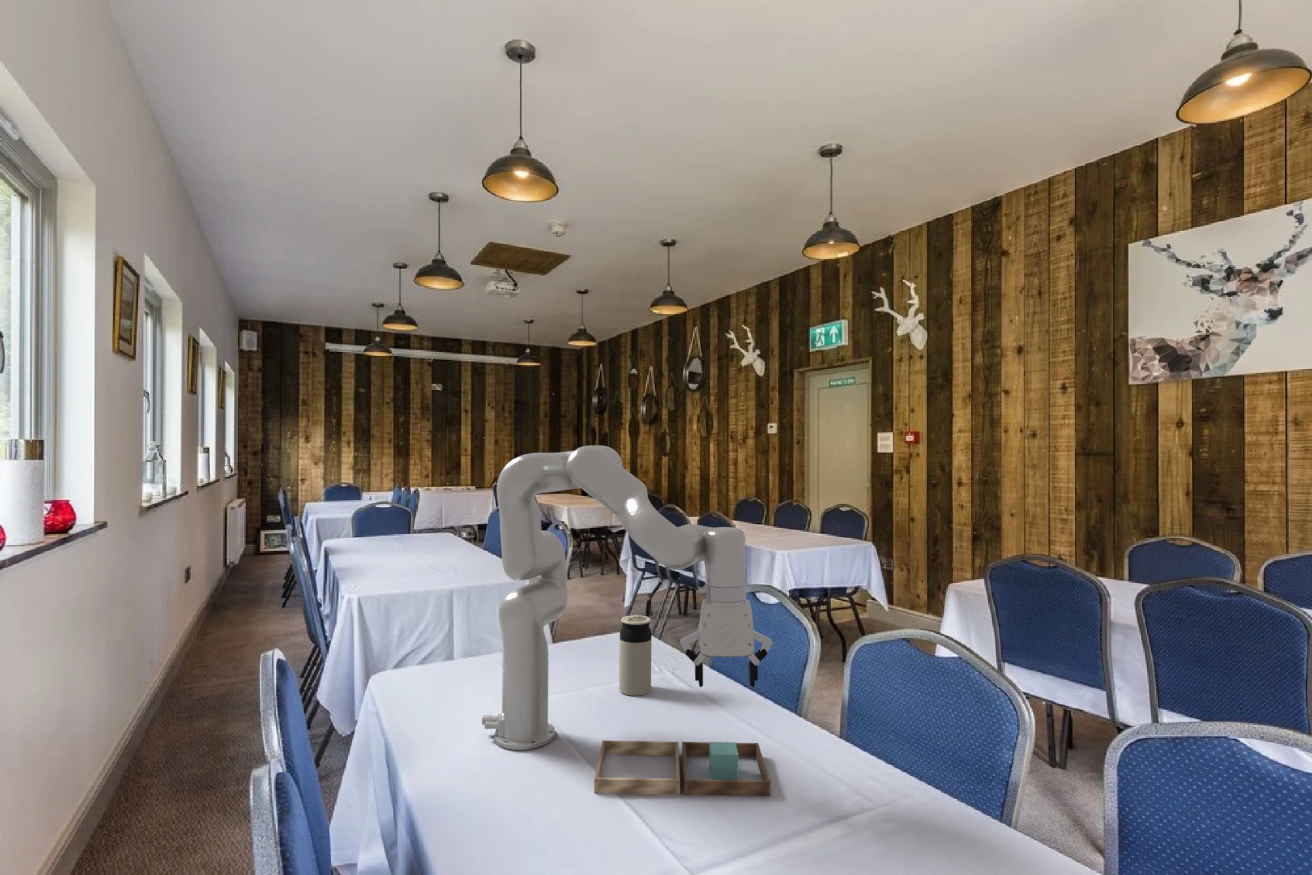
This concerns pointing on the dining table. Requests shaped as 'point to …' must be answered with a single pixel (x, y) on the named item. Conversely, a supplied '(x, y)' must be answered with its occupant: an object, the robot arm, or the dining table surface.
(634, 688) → the travel mug
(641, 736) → the dining table surface
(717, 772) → the teal cube
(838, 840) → the dining table surface
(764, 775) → the walnut tray
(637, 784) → the oak tray
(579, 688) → the dining table surface
